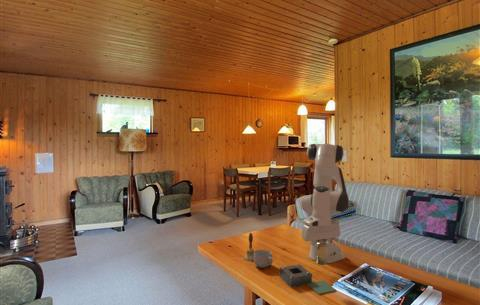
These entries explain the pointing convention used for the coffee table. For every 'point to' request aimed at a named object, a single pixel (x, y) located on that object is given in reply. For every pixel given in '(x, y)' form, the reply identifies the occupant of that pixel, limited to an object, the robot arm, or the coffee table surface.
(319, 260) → the plug
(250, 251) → the hand bell
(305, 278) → the housing
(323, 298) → the coffee table surface
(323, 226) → the robot arm
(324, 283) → the coaster
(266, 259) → the teacup
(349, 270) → the coffee table surface
